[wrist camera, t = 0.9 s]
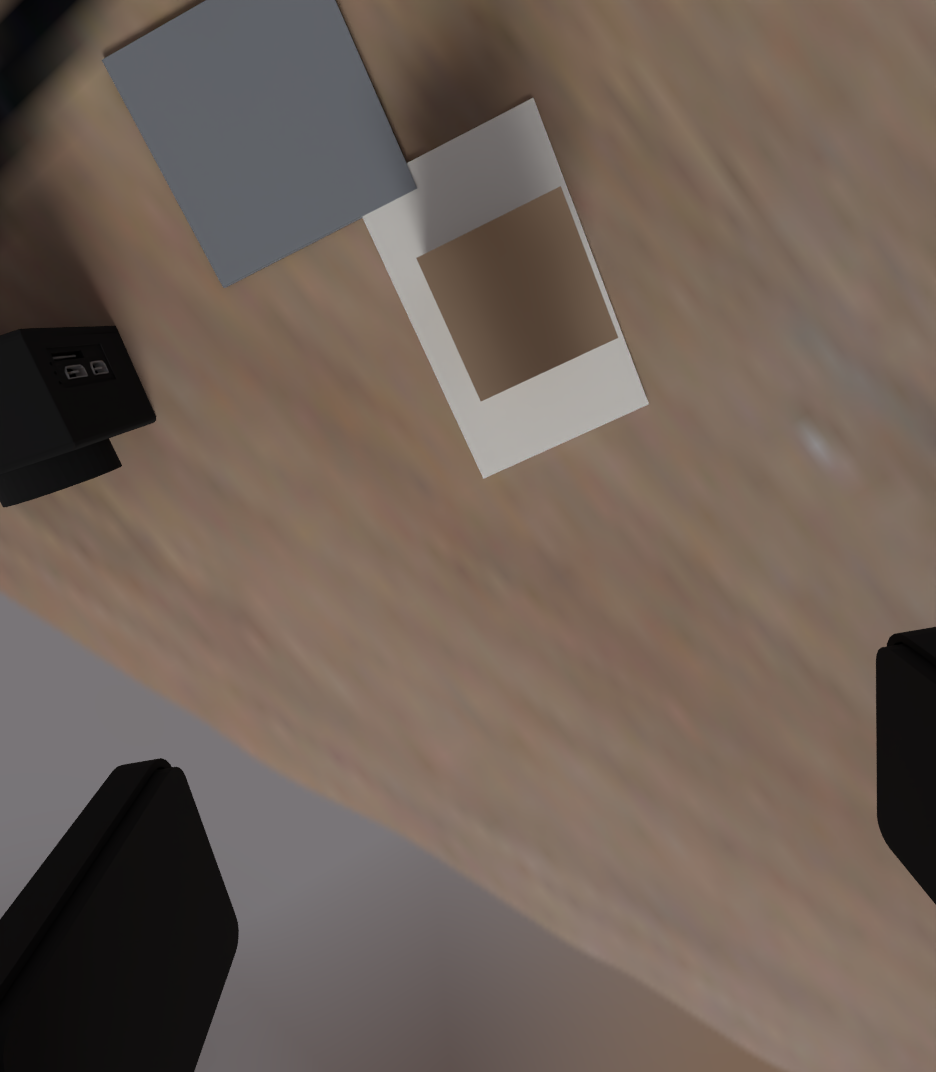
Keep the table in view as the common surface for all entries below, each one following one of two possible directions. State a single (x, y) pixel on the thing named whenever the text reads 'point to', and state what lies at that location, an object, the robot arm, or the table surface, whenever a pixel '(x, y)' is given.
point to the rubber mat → (261, 126)
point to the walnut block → (519, 295)
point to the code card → (400, 237)
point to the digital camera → (64, 407)
